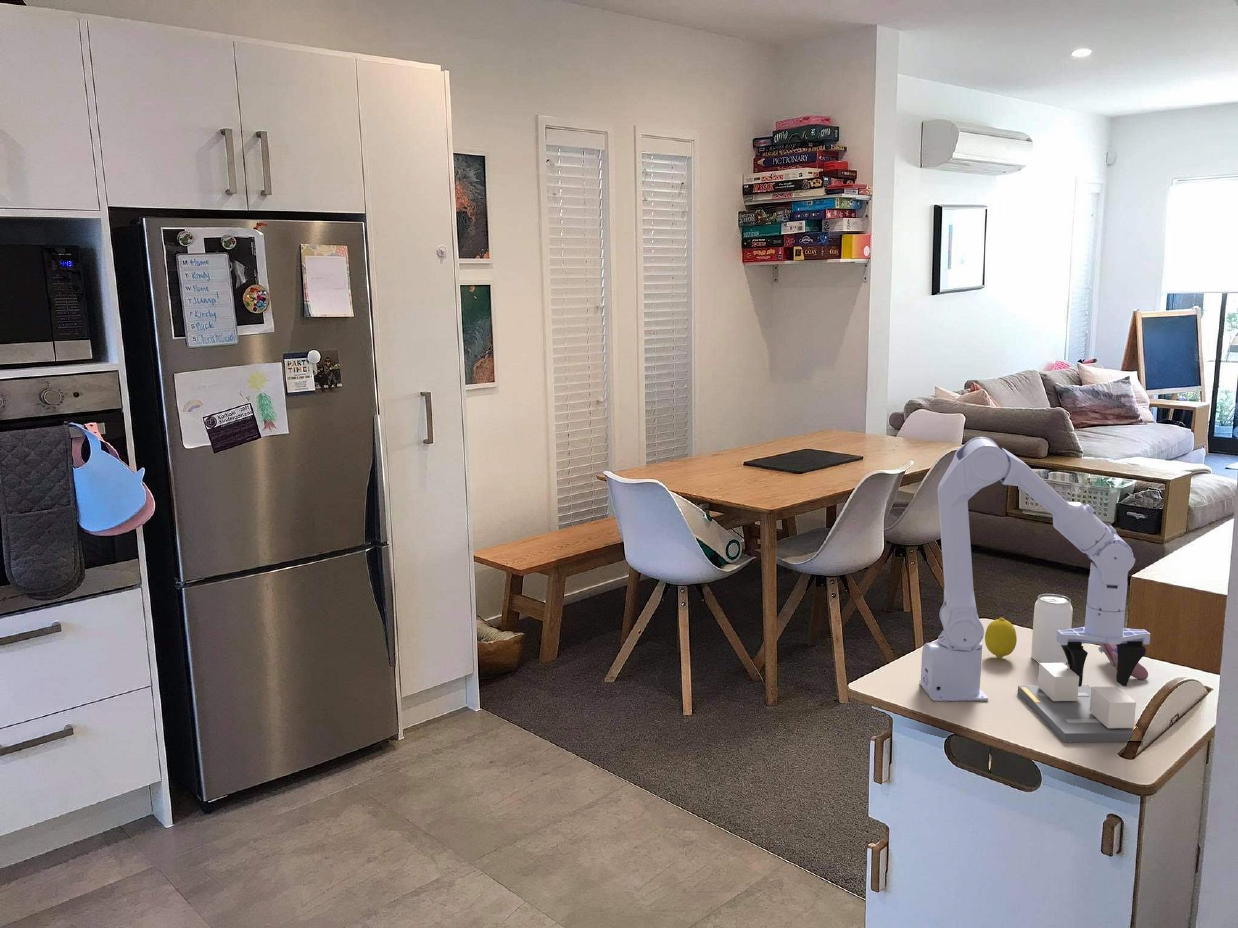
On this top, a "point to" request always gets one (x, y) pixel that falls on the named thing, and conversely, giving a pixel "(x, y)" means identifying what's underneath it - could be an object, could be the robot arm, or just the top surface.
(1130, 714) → the switch front
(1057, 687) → the switch back
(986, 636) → the lemon
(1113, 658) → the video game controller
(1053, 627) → the can
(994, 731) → the top surface
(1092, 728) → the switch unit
